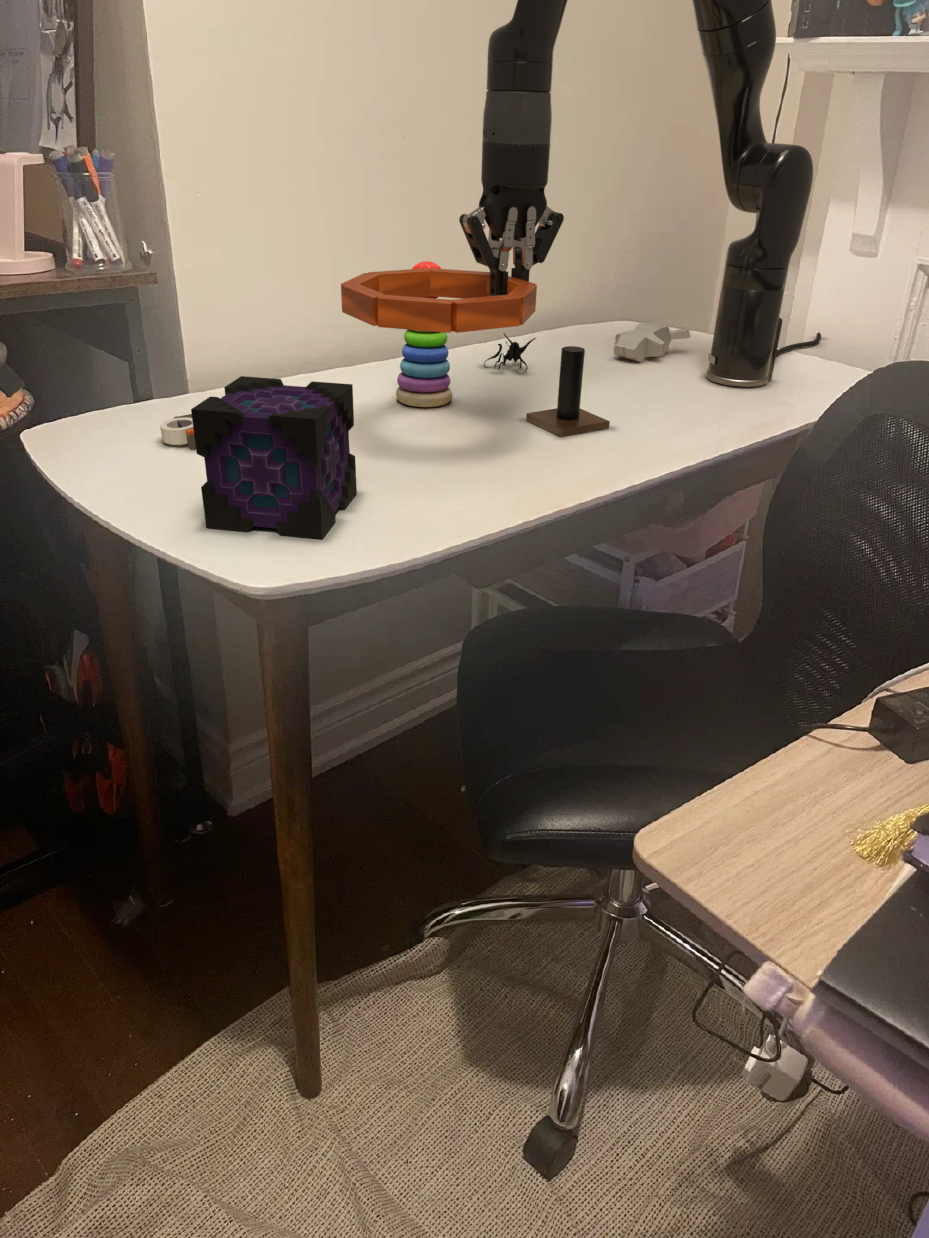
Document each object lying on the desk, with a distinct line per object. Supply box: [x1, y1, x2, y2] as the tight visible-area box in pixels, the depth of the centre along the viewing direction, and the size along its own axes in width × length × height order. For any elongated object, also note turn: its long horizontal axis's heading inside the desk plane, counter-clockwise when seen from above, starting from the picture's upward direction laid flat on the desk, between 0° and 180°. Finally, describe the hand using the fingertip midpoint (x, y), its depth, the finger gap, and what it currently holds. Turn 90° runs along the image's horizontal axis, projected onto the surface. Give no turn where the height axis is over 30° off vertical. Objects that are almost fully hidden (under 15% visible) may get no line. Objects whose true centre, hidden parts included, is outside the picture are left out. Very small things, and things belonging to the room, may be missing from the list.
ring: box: [340, 268, 538, 334], centre depth 103 cm, size 21×21×3 cm
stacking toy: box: [395, 260, 453, 408], centre depth 124 cm, size 8×8×19 cm
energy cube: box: [190, 375, 358, 540], centre depth 91 cm, size 12×12×12 cm
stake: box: [525, 345, 610, 438], centre depth 119 cm, size 8×8×10 cm
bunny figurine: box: [613, 321, 691, 363], centre depth 155 cm, size 10×5×15 cm
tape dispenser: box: [159, 413, 196, 450], centre depth 113 cm, size 7×3×15 cm
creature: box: [483, 332, 537, 375], centre depth 145 cm, size 8×5×8 cm
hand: (508, 301), depth 108 cm, fingers closed on ring, 2 cm apart
